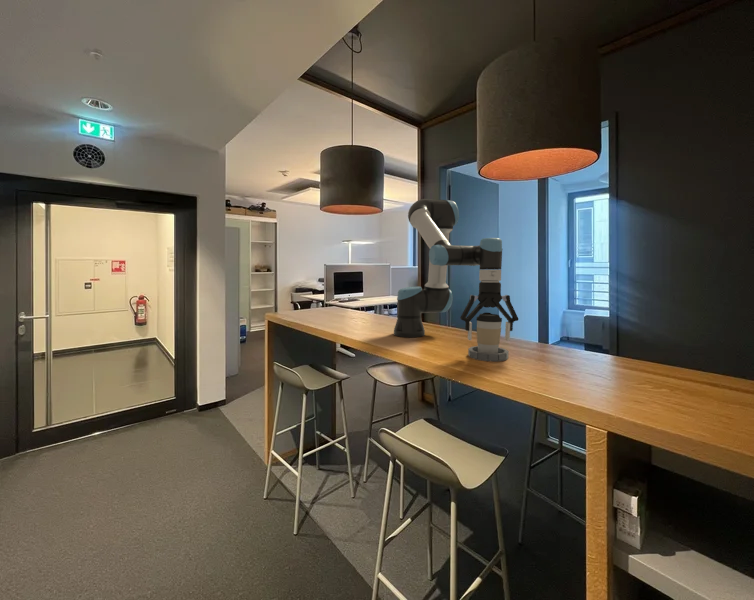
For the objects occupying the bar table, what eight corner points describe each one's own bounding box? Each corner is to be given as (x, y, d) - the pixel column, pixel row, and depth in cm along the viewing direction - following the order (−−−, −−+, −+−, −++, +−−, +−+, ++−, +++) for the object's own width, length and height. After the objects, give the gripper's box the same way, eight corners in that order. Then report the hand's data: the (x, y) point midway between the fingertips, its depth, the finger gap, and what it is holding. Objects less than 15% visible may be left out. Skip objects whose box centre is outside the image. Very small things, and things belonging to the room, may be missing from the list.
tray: (465, 352, 135) (465, 345, 135) (501, 352, 134) (501, 346, 134) (473, 361, 121) (473, 354, 121) (513, 361, 121) (513, 354, 121)
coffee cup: (504, 357, 123) (506, 315, 122) (478, 356, 124) (480, 314, 122) (496, 351, 132) (497, 312, 131) (472, 351, 133) (473, 311, 131)
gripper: (456, 281, 122) (455, 341, 124) (529, 282, 121) (527, 342, 123) (453, 281, 130) (452, 337, 132) (521, 281, 129) (519, 338, 131)
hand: (488, 339), depth 127 cm, fingers open, 13 cm apart
